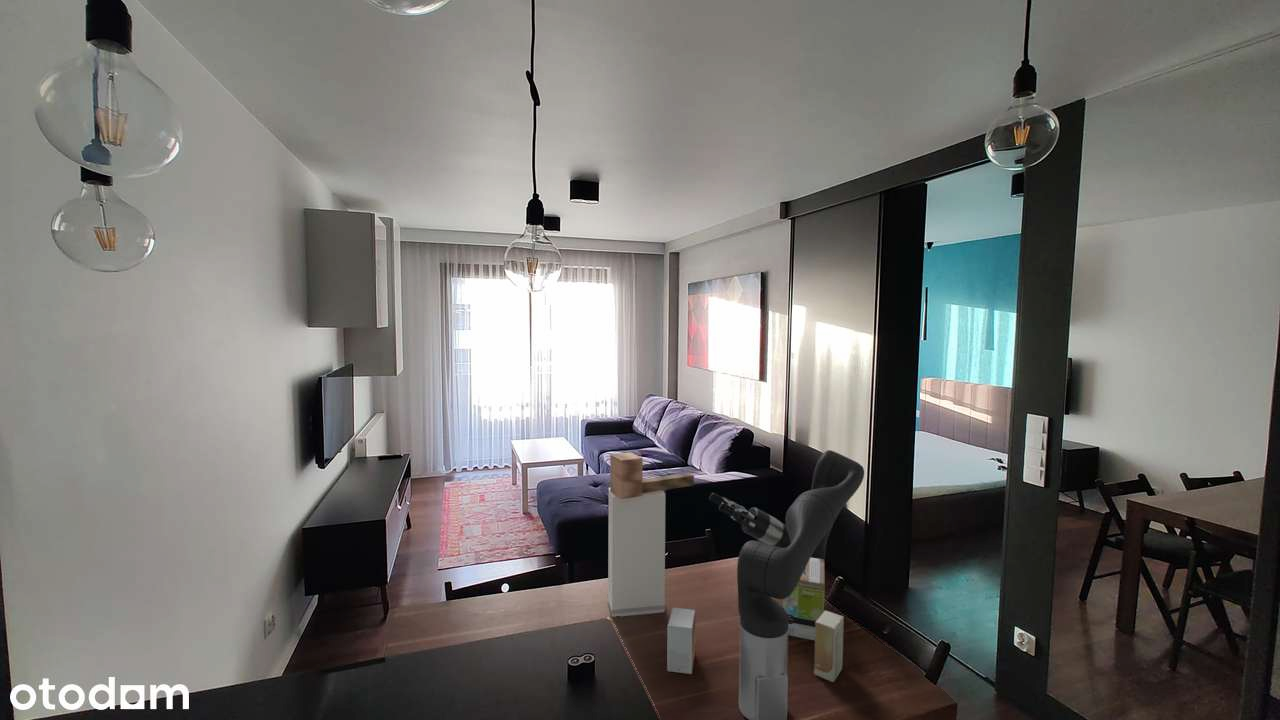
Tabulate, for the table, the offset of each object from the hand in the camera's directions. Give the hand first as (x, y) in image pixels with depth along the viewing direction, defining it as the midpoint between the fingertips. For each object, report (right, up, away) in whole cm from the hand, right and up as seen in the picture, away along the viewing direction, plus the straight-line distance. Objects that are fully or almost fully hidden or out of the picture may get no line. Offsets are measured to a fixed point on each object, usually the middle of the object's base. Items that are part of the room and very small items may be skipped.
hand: (715, 500), depth 145 cm
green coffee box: (+21, -29, -9) cm, 37 cm away
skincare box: (+21, -30, -29) cm, 47 cm away
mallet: (-17, +4, -3) cm, 18 cm away
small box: (-11, -30, -26) cm, 41 cm away
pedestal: (-22, -28, -2) cm, 36 cm away
